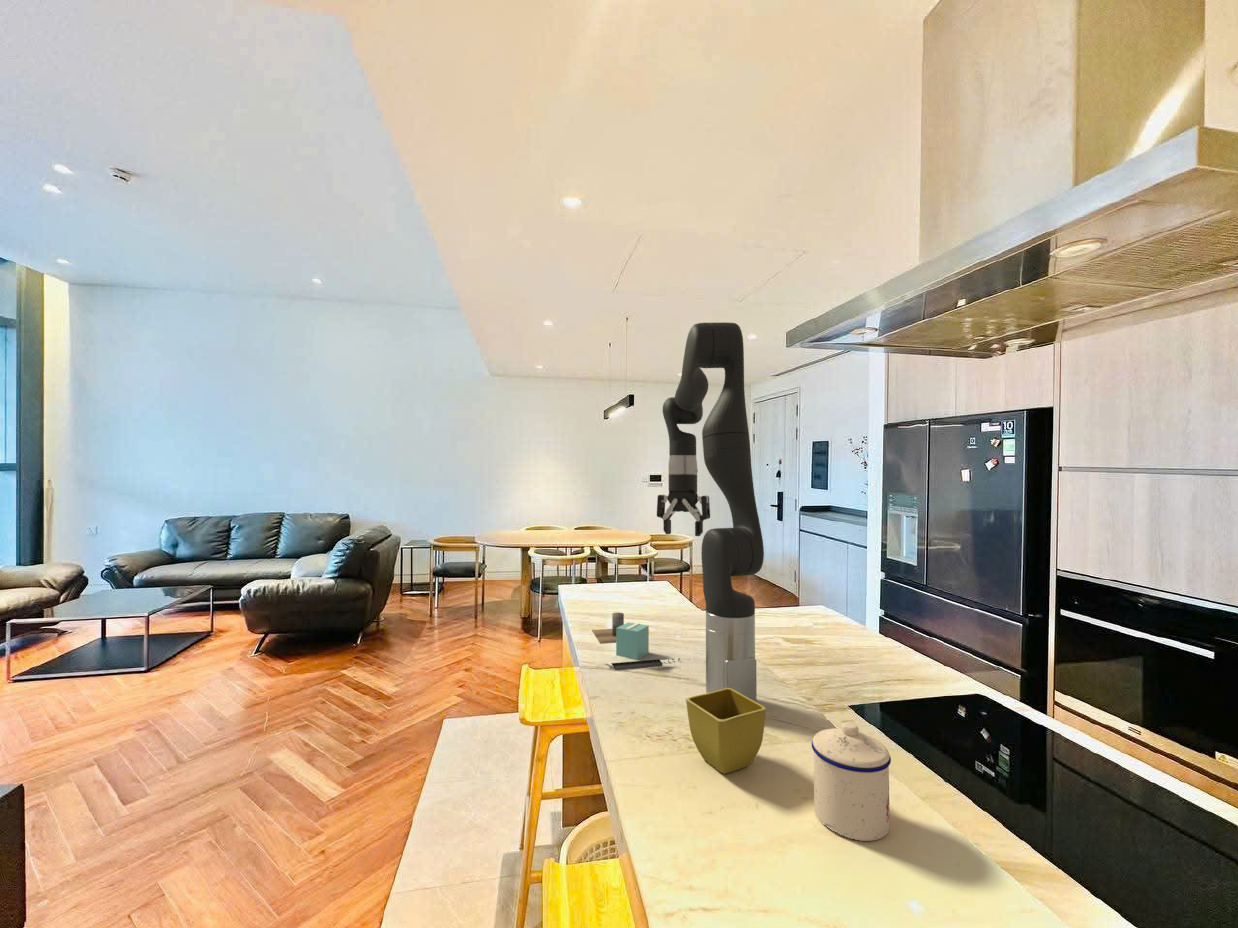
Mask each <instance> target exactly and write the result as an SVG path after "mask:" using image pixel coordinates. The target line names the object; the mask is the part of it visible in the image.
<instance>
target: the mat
mask: <svg viewBox="0 0 1238 928" xmlns="http://www.w3.org/2000/svg"><path fill="white" fill-rule="evenodd" d="M638 661H639V662H633V661H622V662H611V663H610V664H611V666H612V667H613V669H614V671H623V670H635V669H644V668H645V669H647V668H657V667H659V668H660V667H663V662H662V660H661V659H658V658H657V659H647V660H638Z"/></svg>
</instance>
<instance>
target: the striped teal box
mask: <svg viewBox="0 0 1238 928" xmlns="http://www.w3.org/2000/svg"><path fill="white" fill-rule="evenodd" d="M649 627H650V626H649V625H647V624H640V623H638V622H636V623H635V622H626V623H624V625H622V626H619V627H617V628H616V643H615V644H616V645H615V654H616V655H615V656H619V657H623V658H627V659H632V660H635V661H632V662H639V661H640V660H639V659H641V658H642V657H644V656H646V655H647V654H649V651H650V648H649V646H650V644H649V641H650V639H649V637H650V636H649V634H650V633H649V632H650V631H649V630H650V629H649Z"/></svg>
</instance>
